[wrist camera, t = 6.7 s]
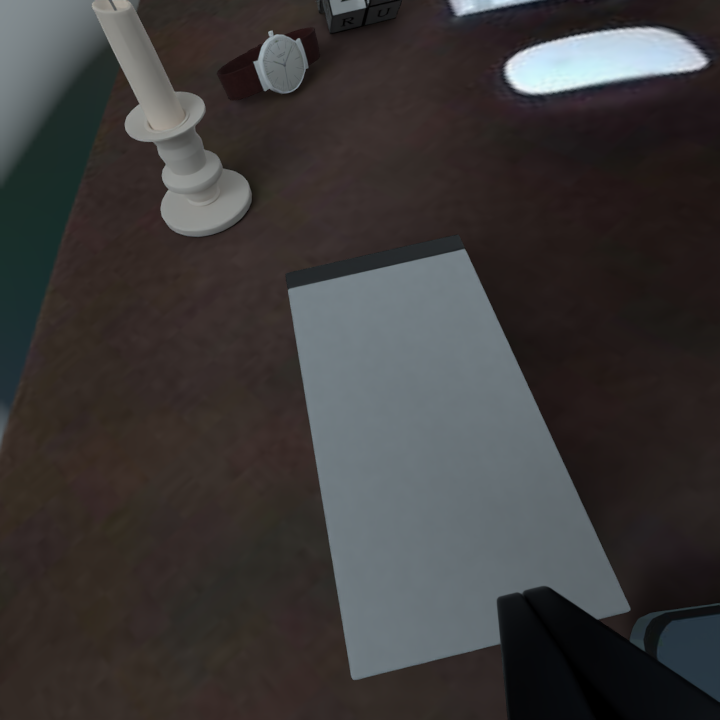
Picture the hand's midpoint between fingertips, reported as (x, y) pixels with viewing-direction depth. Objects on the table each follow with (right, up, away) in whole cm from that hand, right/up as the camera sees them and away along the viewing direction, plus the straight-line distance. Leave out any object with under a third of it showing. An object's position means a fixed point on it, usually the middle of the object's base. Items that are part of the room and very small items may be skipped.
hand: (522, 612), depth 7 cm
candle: (-11, +13, +19) cm, 25 cm away
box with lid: (+1, -4, +5) cm, 6 cm away
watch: (-9, +24, +25) cm, 35 cm away
